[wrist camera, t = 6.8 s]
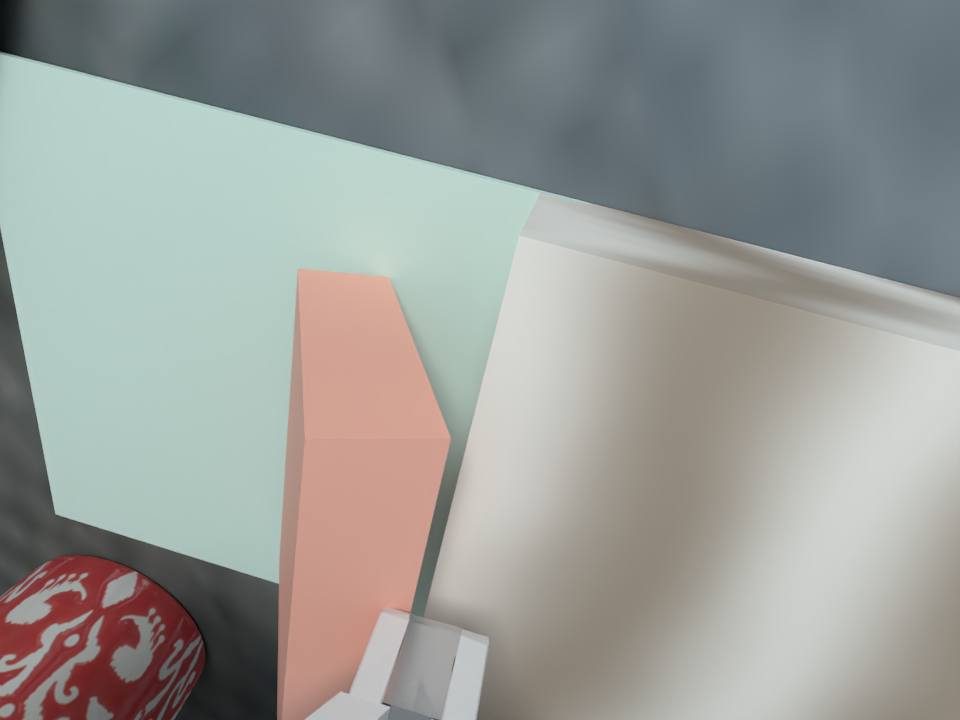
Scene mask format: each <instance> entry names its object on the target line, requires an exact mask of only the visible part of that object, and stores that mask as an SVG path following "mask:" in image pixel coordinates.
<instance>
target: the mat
mask: <svg viewBox="0 0 960 720" xmlns="http://www.w3.org/2000/svg"><path fill="white" fill-rule="evenodd" d="M540 193H542V194H546V195H550V196H554V197H558V198H562V199H566V200H570V201H574V202H577V203H581V204H585V205H588V202H584V201H580V200H576V199H573V198H569V197H565V196H561V195H557V194H553V193H549V192H545V191H541V190H537V189H534V188H530V187H526V186H522V185H518V184H514V183H510V182H506V181H502V180H499V179H495V178H491V177H487V176H483V175H479V174H475V173H471V172H467V171H463V170H460V169H456V168H452V167H448V166H444V165H440V164H436V163H432V162H428V161H425V160H421V159H417V158H413V157H409V156H405V155H401V154H397V153H393V152H390V151H386V150H382V149H378V148H374V147H370V146H366V145H362V144H358V143H354V142H351V141H347V140H343V139H339V138H335V137H331V136H327V135H323V134H319V133H316V132H312V131H308V130H304V129H300V128H296V127H292V126H288V125H284V124H280V123H277V122H273V121H269V120H265V119H261V118H257V117H253V116H249V115H245V114H242V113H238V112H234V111H230V110H226V109H222V108H218V107H214V106H210V105H206V104H203V103H199V102H195V101H191V100H187V99H183V98H179V97H175V96H171V95H168V94H164V93H160V92H156V91H152V90H148V89H144V88H140V87H136V86H132V85H129V84H125V83H121V82H117V81H113V80H109V79H105V78H101V77H97V76H94V75H90V74H86V73H82V72H78V71H74V70H70V69H66V68H62V67H59V66H55V65H51V64H47V63H43V62H39V61H35V60H31V59H27V58H23V57H20V56H16V55H12V54H8V53H4V52H0V228H1V234H2V239H3V244H4V249H5V254H6V260H7V265H8V270H9V275H10V280H11V285H12V291H13V296H14V301H15V306H16V311H17V317H18V322H19V327H20V332H21V337H22V343H23V348H24V353H25V358H26V363H27V369H28V374H29V379H30V384H31V389H32V395H33V400H34V405H35V410H36V415H37V421H38V426H39V431H40V436H41V441H42V446H43V452H44V457H45V462H46V467H47V472H48V478H49V483H50V488H51V493H52V498H53V504H54V509H55V514H56V515H60V516H63V517H66V518H69V519H72V520H76V521H79V522H82V523H85V524H88V525H92V526H95V527H98V528H101V529H105V530H108V531H111V532H114V533H117V534H121V535H124V536H127V537H130V538H133V539H137V540H140V541H143V542H146V543H149V544H153V545H156V546H159V547H162V548H165V549H169V550H172V551H175V552H178V553H182V554H185V555H188V556H191V557H194V558H198V559H201V560H204V561H207V562H210V563H214V564H217V565H220V566H223V567H226V568H230V569H233V570H236V571H239V572H242V573H246V574H249V575H252V576H255V577H259V578H262V579H265V580H268V581H271V582H275V583H278V584H279V556H280V541H281V525H282V509H283V494H284V478H285V462H286V447H287V431H288V415H289V400H290V384H291V368H292V353H293V337H294V322H295V306H296V290H297V275H298V269H309V270H319V271H330V272H341V273H351V274H362V275H373V276H383V277H388V278H390V281H391V283H392V286H393V289H394V291H395V294H396V296H397V299H398V302H399V304H400V307H401V309H402V312H403V315H404V317H405V320H406V322H407V325H408V328H409V330H410V333H411V335H412V338H413V341H414V343H415V346H416V348H417V351H418V354H419V356H420V359H421V361H422V364H423V367H424V369H425V372H426V374H427V377H428V380H429V382H430V385H431V387H432V390H433V393H434V395H435V398H436V400H437V403H438V406H439V408H440V411H441V413H442V416H443V419H444V421H445V424H446V426H447V429H448V432H449V434H450V437H451V441H450V445H449V450H448V454H447V458H446V462H445V467H444V471H443V475H442V480H441V484H440V488H439V492H438V497H437V501H436V505H435V510H434V514H433V518H432V522H431V527H430V531H429V535H428V540H427V544H426V548H425V552H424V557H423V561H422V565H421V570H420V574H419V578H418V582H417V587H416V591H415V595H414V600H413V604H412V608H411V612H410V613H411V614H414V615H418V616H421V617H423V616H424V612H425V608H426V604H427V601H428V597H429V593H430V589H431V585H432V581H433V577H434V573H435V569H436V565H437V561H438V557H439V553H440V549H441V545H442V541H443V537H444V533H445V529H446V525H447V521H448V517H449V513H450V509H451V505H452V501H453V497H454V493H455V489H456V485H457V481H458V477H459V473H460V469H461V465H462V461H463V457H464V453H465V449H466V445H467V441H468V437H469V433H470V429H471V425H472V421H473V417H474V413H475V409H476V405H477V401H478V397H479V393H480V389H481V385H482V381H483V377H484V373H485V369H486V365H487V361H488V357H489V353H490V349H491V345H492V341H493V337H494V333H495V329H496V325H497V321H498V317H499V313H500V309H501V305H502V301H503V298H504V294H505V290H506V286H507V282H508V278H509V274H510V270H511V266H512V262H513V258H514V254H515V250H516V246H517V242H518V238H519V235H520V233H521V231H522V229H523V227H524V224H525V222H526V220H527V218H528V216H529V214H530V212H531V210H532V208H533V206H534V204H535V202H536V200H537V198H538V196H539V194H540Z"/></svg>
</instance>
